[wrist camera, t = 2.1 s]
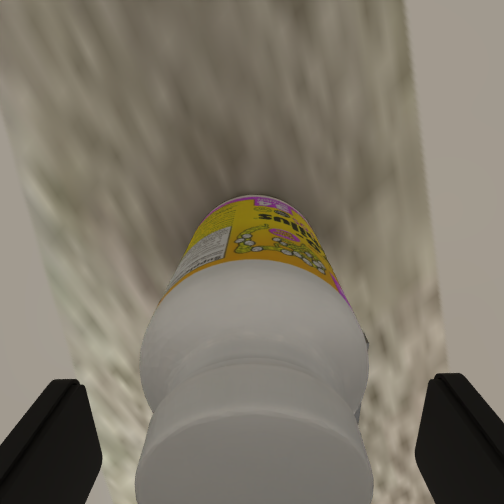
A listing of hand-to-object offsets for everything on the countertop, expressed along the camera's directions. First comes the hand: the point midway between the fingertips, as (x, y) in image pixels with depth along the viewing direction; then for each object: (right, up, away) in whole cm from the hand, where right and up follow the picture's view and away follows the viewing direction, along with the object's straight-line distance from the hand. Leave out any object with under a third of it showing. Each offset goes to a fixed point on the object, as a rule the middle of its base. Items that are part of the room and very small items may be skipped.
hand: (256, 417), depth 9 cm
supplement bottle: (0, +5, +9) cm, 10 cm away
